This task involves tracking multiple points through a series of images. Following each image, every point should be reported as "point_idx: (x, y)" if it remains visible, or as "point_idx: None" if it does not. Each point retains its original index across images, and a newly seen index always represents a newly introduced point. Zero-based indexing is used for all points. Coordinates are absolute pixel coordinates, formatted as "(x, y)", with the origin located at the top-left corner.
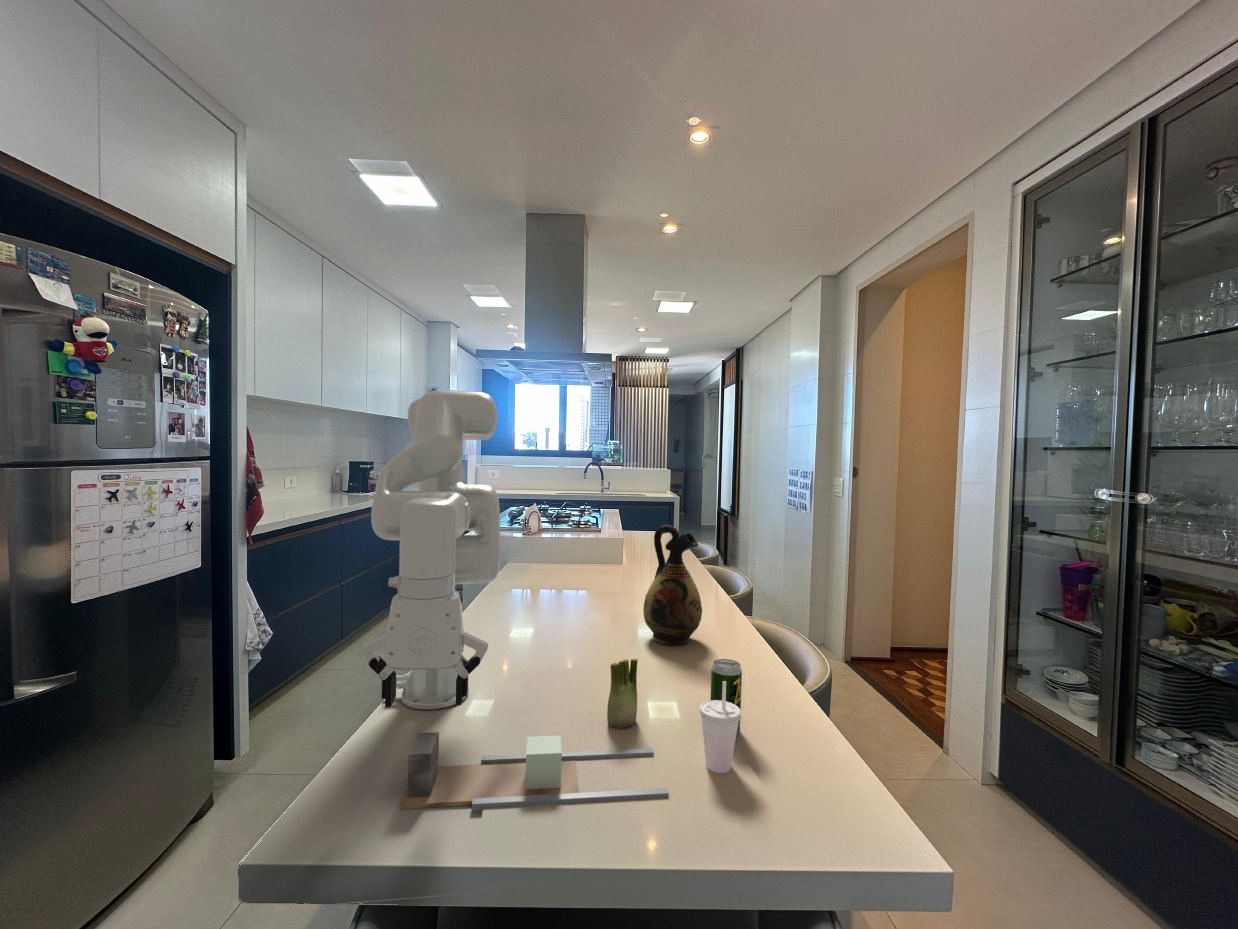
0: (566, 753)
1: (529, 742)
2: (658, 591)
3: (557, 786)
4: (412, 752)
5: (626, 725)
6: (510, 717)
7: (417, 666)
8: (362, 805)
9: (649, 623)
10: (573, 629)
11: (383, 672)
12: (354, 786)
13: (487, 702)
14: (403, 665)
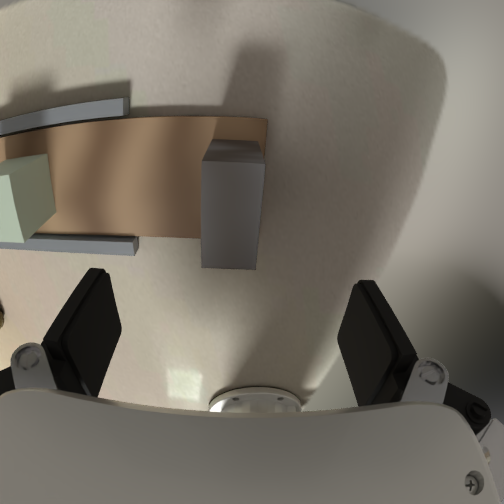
0: (13, 245)
1: (15, 221)
2: None
3: (7, 159)
4: (255, 173)
5: None
6: (130, 359)
7: (267, 432)
8: (339, 148)
9: None
10: None
11: (437, 385)
12: (358, 209)
13: (176, 393)
14: (379, 429)
